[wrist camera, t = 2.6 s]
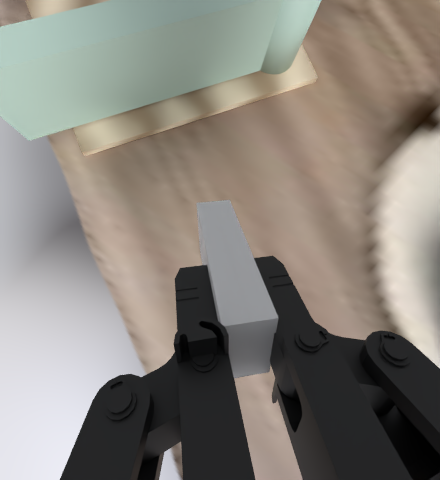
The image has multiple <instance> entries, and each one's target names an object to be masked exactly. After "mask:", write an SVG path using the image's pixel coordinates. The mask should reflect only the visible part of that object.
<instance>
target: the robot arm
mask: <svg viewBox="0 0 440 480" xmlns="http://www.w3.org/2000/svg"><path fill="white" fill-rule="evenodd" d="M197 216H198V229H199V242H200V253H201V258H202V264H203V265H202V266H194V267H186V268H180V270H179V272H178V274H177V276H176V278H175V290H176V310H177V329H178V331H177V333H176V334H175V340H174V348H175V353H174V354H173V356H172V358H171V359H170V360H169V361H168V362H167V363H166V364H165V365H163V366H162V367H160V368H159V369H157V370H155V371H153V372H151V373H149V374H147V375H145V376H143V377H139V376H136V375H132V374H126V375H120V376H118V377H116V378H114V379H111V380H109V381H108V382H107V383H106V384H105V385H104V386H103V387H102V388H101V389H100V390H99V391H98V393H97V395H96V396H95V398H94V399H93V401H92V404H91V406H90V409H89V411H88V413H87V416H86V418H85V421H84V423H83V425H82V428H81V430H80V433H79V435H78V437H77V440H76V442H75V445H74V447H73V449H72V452H71V455H70V457H69V459H68V462H67V464H66V466H65V469H64V471H63V473H62V476H61V478H60V480H159V476H160V471H161V465H162V461H163V455H164V452H165V451H166V450H168V449H170V448H171V447H173V446H174V445H176V444H178V443H179V442H181V445H182V465H183V480H255V476H254V471H253V466H252V462H251V457H250V452H249V447H248V443H247V438H246V433H245V429H244V424H243V419H242V414H241V410H240V405H239V400H238V396H237V391H236V386H235V381H234V378H238V377H244V376H249V375H255V374H261V373H266V372H269V370H270V364H271V366H272V369H273V372H274V375H275V382H274V387H273V392H272V401H273V403H276V401H277V399H278V402H279V405H280V408H281V412H282V415H283V418H284V421H285V424H286V427H287V431H288V434H289V437H290V440H291V443H292V446H293V450H294V453H295V456H296V459H297V462H298V465H299V469H300V472H301V475H302V478H303V480H440V368H438V367H437V366H436V365H435V364H434V363H433V362H432V361H431V360H430V359H428V358H427V357H426V356H425V355H424V354H423V353H422V352H421V351H420V350H418V349H417V348H416V347H415V346H414V345H413V344H412V343H410V342H409V341H408V340H406V339H405V338H403V337H402V336H400V335H397V334H395V333H392V332H388V331H377V332H373V333H372V334H370V335H369V336H368V337H367V339H366V341H365V340H358V339H351V338H344V337H339V336H335V335H332V334H330V333H328V331H327V330H326V329H325V328H323V327H322V326H320V325H319V324H317V323H315V322H314V320H313V319H312V318H311V316H310V314H309V312H308V310H307V308H306V306H305V304H304V303H303V301H302V299H301V297H300V295H299V293H298V291H297V289H296V288H295V286H294V285H293V282H292V280H291V278H290V277H289V274H288V273H287V271H286V269H285V267H284V265H283V264H282V263H281V262H280V261H279V260H277V259H276V258H275V257H274V256H268V257H260V258H254V257H253V255H252V253H251V250H250V248H249V245H248V243H247V241H246V238H245V236H244V233H243V231H242V229H241V226H240V224H239V221H238V219H237V216H236V214H235V212H234V209H233V207H232V204H231V202H230V200H223V201H212V202H202V203H197Z"/></svg>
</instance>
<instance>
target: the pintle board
mask: <svg viewBox="0 0 440 480" xmlns="http://www.w3.org/2000/svg"><path fill="white" fill-rule="evenodd" d="M25 1H26V4H27V6H28V9H29V12H30V14H31V17H32V19H35V18H39V17H44V16H48V15H52V14H56V13H60V12H64V11H68V10H73V9H77V8H81V7H85V6H89V5H93V4H97V3H102V2H106V1H110V0H25ZM317 78H318V76H317V74H316V72H315V70H314V68H313V66H312V64H311V62H310V60H309V58H308V56H307V54H306V52H305V49H304V47H303V45H302V44H301V46H300V48H299V50H298V52H297V55H296V57H295V59H294V61H293V63H292V65H291V67H290V68H289V69H288V70H287V71H285V72H283V73H281V74H267V73H264V72H262V71H257V72H254V73H250V74H247V75H244V76H241V77H237V78H234V79H231V80H227V81H224V82H221V83H218V84H214V85H211V86H208V87H204V88H201V89H198V90H195V91H191V92H188V93H185V94H181V95H178V96H175V97H172V98H168V99H165V100H162V101H158V102H155V103H152V104H149V105H145V106H142V107H139V108H135V109H132V110H129V111H126V112H122V113H119V114H116V115H112V116H109V117H106V118H103V119H99V120H96V121H93V122H89V123H86V124H83V125H80V126H76V127H73V130H74V133H75V136H76V138H77V141H78V144H79V147H80V149H81V152H82V153H83V155H84V156H87V155H91V154H94V153H97V152H100V151H103V150H106V149H109V148H112V147H115V146H119V145H122V144H125V143H128V142H131V141H134V140H137V139H140V138H143V137H147V136H150V135H153V134H156V133H159V132H162V131H165V130H168V129H171V128H175V127H178V126H181V125H184V124H187V123H190V122H193V121H196V120H199V119H203V118H206V117H209V116H212V115H215V114H218V113H221V112H224V111H227V110H231V109H234V108H237V107H240V106H243V105H246V104H249V103H252V102H255V101H258V100H262V99H265V98H268V97H271V96H274V95H277V94H280V93H283V92H286V91H290V90H293V89H296V88H299V87H302V86H305V85H308V84H311V83H314V82H315V81H316V79H317Z"/></svg>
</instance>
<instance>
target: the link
mask: <svg viewBox="0 0 440 480" xmlns="http://www.w3.org/2000/svg"><path fill="white" fill-rule="evenodd" d="M320 2H321V0H110V1H106V2H102V3H97V4H93V5H89V6H85V7H81V8H77V9H73V10H68V11H64V12H60V13H56V14H52V15H48V16H44V17H39V18H35V19H31V20H27V21H23V22H19V23H15V24H10V25H6V26H2V27H0V116H1V117H2V118H3V119H4V120H5V121H6V122H8V123H9V124H10V125H11V126H12V127H13V128H15V129H16V130H17V131H18V132H19V133H20V134H22V135H23V136H24V137H25V138H26V139H27V140H29V141H30V140H34V139H37V138H40V137H43V136H47V135H50V134H53V133H57V132H60V131H63V130H66V129H70V128H73V127H76V126H80V125H83V124H86V123H89V122H93V121H96V120H99V119H103V118H106V117H109V116H112V115H116V114H119V113H122V112H126V111H129V110H132V109H135V108H139V107H142V106H145V105H149V104H152V103H155V102H158V101H162V100H165V99H168V98H172V97H175V96H178V95H181V94H185V93H188V92H191V91H195V90H198V89H201V88H204V87H208V86H211V85H214V84H218V83H221V82H224V81H227V80H231V79H234V78H237V77H241V76H244V75H247V74H250V73H254V72H257V71H262V72H264V73H267V74H281V73H283V72H285V71H287V70H288V69H289V68H290V67H291V65H292V63H293V61H294V59H295V57H296V55H297V52H298V50H299V48H300V46H301V44H302V41H303V39H304V37H305V35H306V33H307V31H308V28H309V26H310V24H311V22H312V20H313V17H314V15H315V13H316V11H317V9H318V7H319V4H320Z"/></svg>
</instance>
